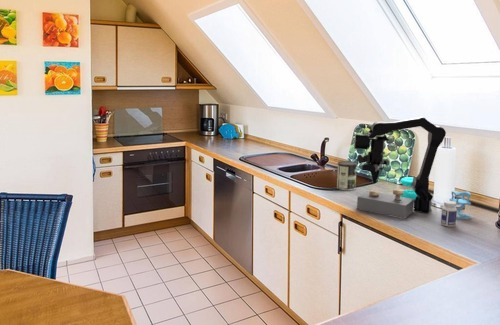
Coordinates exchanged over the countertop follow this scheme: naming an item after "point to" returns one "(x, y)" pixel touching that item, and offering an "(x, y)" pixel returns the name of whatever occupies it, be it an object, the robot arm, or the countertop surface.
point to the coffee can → (346, 175)
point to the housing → (385, 205)
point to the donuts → (408, 193)
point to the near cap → (397, 194)
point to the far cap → (374, 193)
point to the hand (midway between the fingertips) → (374, 182)
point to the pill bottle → (449, 214)
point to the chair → (461, 202)
